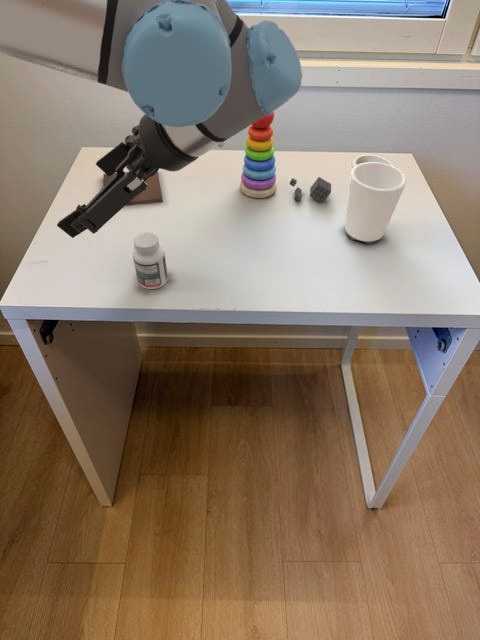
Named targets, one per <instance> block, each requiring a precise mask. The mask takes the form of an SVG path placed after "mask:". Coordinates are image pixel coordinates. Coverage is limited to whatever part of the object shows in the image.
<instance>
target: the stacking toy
mask: <svg viewBox="0 0 480 640" xmlns="http://www.w3.org/2000/svg"><path fill="white" fill-rule="evenodd" d="M274 118H275V111H273V112H272V114H270V115H269V116H265V117H263V118H261V119H260V120H258V121H256V122H255V123H253V124H251V125H250V126H248V129H247V135H248V136H247V137H246V140H245V144H246V146H245V148H244V153H245V155H244V157H243V162H244V164H243V166H242V173H241V176H240V179H241V181H240V185H239V187H240V190H241V191H242V193H243V194H244V195H246V196H248V197H250V198H253V199H262V198H267V197H270V196H272V195H273V194H274V193H275V192H276V190H277V186H278V185H277V176H276V170H277V168H276V156H275V155H274V154H275V148H274V138H273V135H274V128H273V127H272V126H271V125H272V124H273V122H274Z"/></svg>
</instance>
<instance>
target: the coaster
mask: <svg viewBox="0 0 480 640" xmlns="http://www.w3.org/2000/svg"><path fill="white" fill-rule="evenodd" d="M124 172H125V173H127V172H128V171H124ZM115 175H116V172H115V173H114V174H113V175H111V176H110V177H109V176H108V175H107V174H105V173H103V176H102V177H103V187H104V186H105V185H106V184H107V183H108V182H109V181H110V180H111V179H112V178H113V177H114V176H115ZM145 183H146V184H147V187H146V189H145V190H144V191H142V192H141V193H140V194H138V195H137V196H135V197H134V198H133V199H132V200H131V201H130V202H128V203H127V204H126V205H125V206H133V205H142V204H151V203H162V202H163V200H164V199H163V196H162V193H163V192H162V188H161V181H160V176H159V170H158V171H157V172H156V173H155V174H154V175H153V176H152V177H149V178H148V179H147V180H146V181H145Z"/></svg>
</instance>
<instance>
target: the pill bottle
mask: <svg viewBox="0 0 480 640" xmlns="http://www.w3.org/2000/svg"><path fill="white" fill-rule="evenodd" d="M133 246H134V249H133V251H132V260H133V264H134V269H135V270H134V271H135V275H136V279H137V283H138V285H140V286H141V288H144V289H146V290H155V289H160V288H162V287H163V286H164V285H165V284H166V283H167V282H168V280H169V275H168V268H167V261H166V254H165V249H164V247H163V246H162V245H161V244H160V239H159V237H158V235H157V234H155V233H153V232H142V233H138V234H137V235H136V236H135V237H134V239H133Z"/></svg>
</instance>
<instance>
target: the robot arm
mask: <svg viewBox="0 0 480 640" xmlns="http://www.w3.org/2000/svg"><path fill="white" fill-rule="evenodd" d="M0 55H5V56H7V57H10V58H15V59H17V60H22V61H24V62H29V63H32V64H35V65H38V66H42V67H44V68H48V69H51V70H55V71H59V72H61V73H64V74H68V75H72V76H75V77H77V78H82V79H85V80H88V81H91V82H95V83H98V84H101V85H105V86H107V87H110V88H114V89H117V90H120V91H123V92H125V93H126V92H127V93H128V94H129V96H130V98H131V99H132V101H133V103H134V105H136V106H137V108H139V110H140V111H141V112H142V113H144V114H143V115H142V117H141V119H139V123H138V124H137V125H136V126H133V127H132V129H131V133H132V134H129V135H128V136H125V138H124V141H121V142H120V143H119V144H117V145H116V146H115V147H114V148H112V149H110V151H109V152H107V153H106V154H105V155H103V156H102V157H101V158H99V159H98V160H96V163H95V165H96V166H97V167H98V168H99V169H100V170H101V171H102V172H103V174H107V175H108V176H109V177H110V176H111V175H113V174H114V173H116V175H115V176H114V177H113V178H112V179H111V180H110V181H109V182H108V183H107V184H106V185H105V186H104V185H103V187H102V188H101V189H100V190H99V191H98V192H97V194H95V196H93V198H92V199H91V200H90V201H89V202H88V203H87V204H85V203H84V204H82V205H80V204H78V205H77V206H76V208H75V210H73V211H72V212H71V213H69V214H67V215H66V216H64V217H63V218H62V219H60V220H59V221H58V222H57V224H56V227H58V228H59V229H60V230H62V231H63V232H64V233H65V234H67V235H68V236H69V237H71V238H72V239H74V238H75V237H77V236H79V235H80V234H82V233H83V232H85V231H87V230H88V231H89V232H90V233H91V234H93V235H95V234H96V233H97V232H99V231H100V229H101V228H103V227H104V226H105V225H106V224H107V223H108V222H109V221H111V219H112V218H113V217H114V216H115V215H117V213H119V212H120V211H121V210H122V209H123V208H125V206H127V205H126V204H127V203H128V202H130V201H131V200H132V199H133V198H134V197H135V196H137V195H138V194H140V193H141V192H142V191H144V190H145V189H146V187H147V184H146V183H145V181H146V180H147V179H148V178H149V177H152V176H153V175H154V174H155V173H156V172H157V171H158V172H159V170H160V169H161V170H164V171H168V172H179V171H181V170H182V169H184V168H185V167H187V166H188V165H190V164H192V163H193V162H195V161H196V160H198V159H199V158H200V157H202V156H204V155H205V154H208V153H209V152H210V151H211V150H213V149H215V148H216V147H217V146H218V148H223V147H224V146H225V144H226V141H227V140H228V139H230V138H232V137H234V136H235V135H237V134H239V133H240V132H242V131H243V130H245V129H247V128H249V127H250V126H251V125H252V124H253V123H255V122H256V121H258V120H260V119H261V118H263V117H265V116H269V115H270V114H272V112H273V111H274V112H275V111H276V110H278V109H279V108H280V107H282V106H283V105H285V104H286V103H287V102H289V100H291V99H292V98H293V97H294V96H296V95H297V93H298V92H299V91H300V88H301V86H302V79H303V69H302V65H301V60H300V58H299V55H298V53H297V50H296V47H295V46H294V44H293V42H292V40H291V38H290V36H289V35H288V34H287V33H286V32H285V30H284V29H282V28H280V27H279V26H278V24H277V23H276V22H274V21H272V20H268V19H267V20H262V21H259V23H257V24H253V25H252V26H250V27H249V26H248V25H247V24H246V23H245V21H244V20H243V19H242V18H240V16H239V15H238V14H237V13H235V11H234V10H233V8H232V7H231V5H230V4H229V3H228V1H227V0H0ZM125 168H126V169H127V170H128V171H124V169H125ZM125 172H127V173H125Z"/></svg>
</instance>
